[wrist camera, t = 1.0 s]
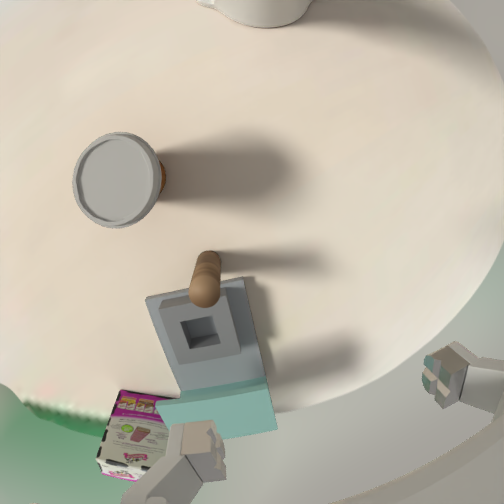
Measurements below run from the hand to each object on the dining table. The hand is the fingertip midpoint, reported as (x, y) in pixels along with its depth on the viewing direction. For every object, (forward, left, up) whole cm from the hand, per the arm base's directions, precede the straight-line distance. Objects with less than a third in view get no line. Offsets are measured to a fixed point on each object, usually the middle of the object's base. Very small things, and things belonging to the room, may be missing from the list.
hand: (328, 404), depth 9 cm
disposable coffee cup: (-10, -12, -32) cm, 35 cm away
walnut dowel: (+3, -6, -32) cm, 32 cm away
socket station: (+15, -9, -32) cm, 36 cm away
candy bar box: (+26, -23, -32) cm, 47 cm away
